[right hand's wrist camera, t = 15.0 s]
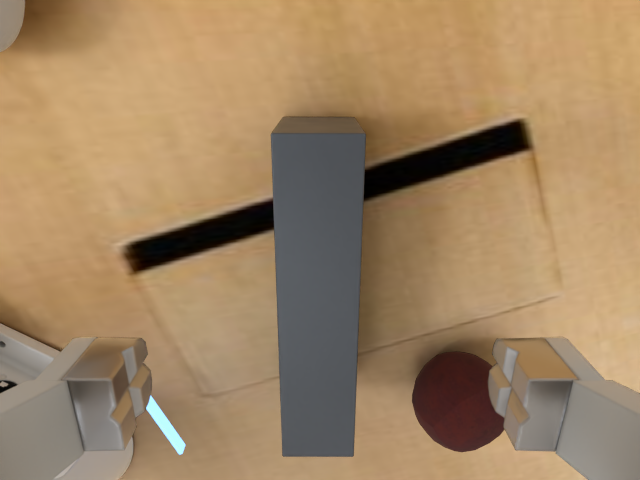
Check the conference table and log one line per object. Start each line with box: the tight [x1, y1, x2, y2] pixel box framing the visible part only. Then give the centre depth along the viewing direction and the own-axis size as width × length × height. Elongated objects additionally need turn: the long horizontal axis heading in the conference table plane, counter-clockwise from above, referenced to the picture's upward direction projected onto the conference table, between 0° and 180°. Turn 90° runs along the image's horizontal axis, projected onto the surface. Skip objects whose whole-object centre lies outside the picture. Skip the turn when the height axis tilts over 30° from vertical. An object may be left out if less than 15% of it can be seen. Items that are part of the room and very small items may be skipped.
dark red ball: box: [412, 352, 505, 452], centre depth 36 cm, size 7×8×7 cm
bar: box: [271, 117, 366, 457], centre depth 32 cm, size 23×5×8 cm, turn 0°
